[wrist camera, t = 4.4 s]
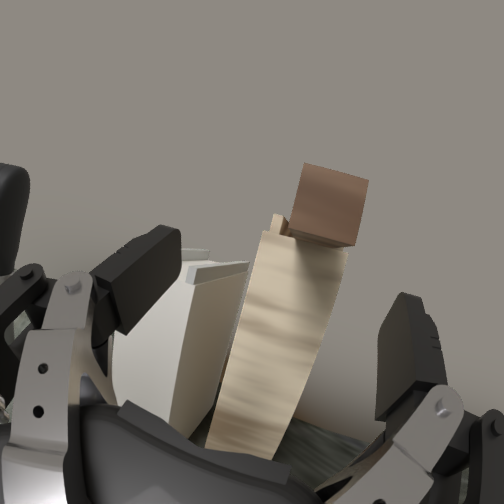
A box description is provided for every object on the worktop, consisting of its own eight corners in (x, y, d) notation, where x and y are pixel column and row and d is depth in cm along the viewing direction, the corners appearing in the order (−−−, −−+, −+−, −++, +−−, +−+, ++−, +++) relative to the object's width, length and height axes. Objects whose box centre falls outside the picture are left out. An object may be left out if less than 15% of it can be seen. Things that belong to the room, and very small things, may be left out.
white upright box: (161, 471, 24) (198, 269, 23) (111, 442, 26) (128, 245, 25) (212, 405, 44) (250, 262, 42) (174, 389, 45) (204, 249, 44)
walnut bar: (354, 245, 11) (368, 180, 11) (287, 227, 12) (304, 162, 11) (318, 249, 39) (323, 229, 38) (298, 244, 39) (303, 224, 39)
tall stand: (246, 504, 22) (353, 234, 20) (193, 486, 23) (268, 212, 22) (272, 425, 41) (333, 243, 40) (235, 414, 43) (288, 232, 41)
